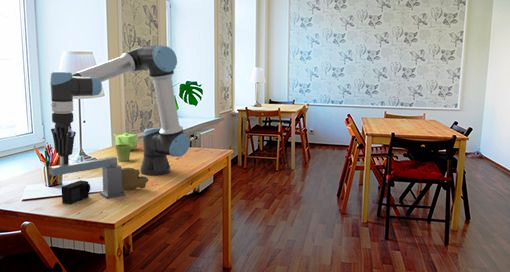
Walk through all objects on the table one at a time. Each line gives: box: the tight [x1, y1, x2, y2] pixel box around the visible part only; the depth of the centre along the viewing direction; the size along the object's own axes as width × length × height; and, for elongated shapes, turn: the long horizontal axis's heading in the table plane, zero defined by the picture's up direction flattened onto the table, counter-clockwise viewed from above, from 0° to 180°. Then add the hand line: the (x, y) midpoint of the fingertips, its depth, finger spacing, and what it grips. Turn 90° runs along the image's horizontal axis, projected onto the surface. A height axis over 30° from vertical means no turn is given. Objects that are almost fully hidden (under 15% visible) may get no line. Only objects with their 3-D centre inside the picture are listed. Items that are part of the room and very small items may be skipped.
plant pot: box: [114, 144, 132, 162], centre depth 245 cm, size 9×9×9 cm
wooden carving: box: [121, 167, 149, 191], centre depth 189 cm, size 16×5×10 cm, turn 98°
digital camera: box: [61, 179, 91, 205], centre depth 173 cm, size 10×5×7 cm, turn 161°
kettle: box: [112, 132, 139, 151], centre depth 274 cm, size 15×14×11 cm
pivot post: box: [99, 164, 126, 199], centre depth 181 cm, size 8×8×12 cm
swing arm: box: [49, 156, 118, 177], centre depth 171 cm, size 27×4×3 cm, turn 139°
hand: (64, 171), depth 168 cm, fingers closed
